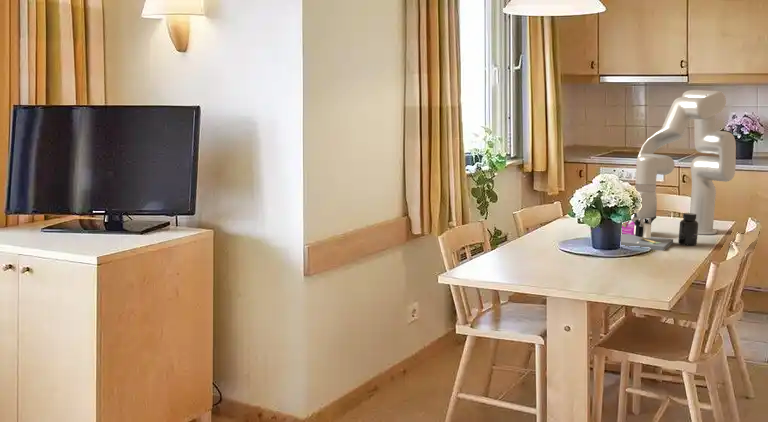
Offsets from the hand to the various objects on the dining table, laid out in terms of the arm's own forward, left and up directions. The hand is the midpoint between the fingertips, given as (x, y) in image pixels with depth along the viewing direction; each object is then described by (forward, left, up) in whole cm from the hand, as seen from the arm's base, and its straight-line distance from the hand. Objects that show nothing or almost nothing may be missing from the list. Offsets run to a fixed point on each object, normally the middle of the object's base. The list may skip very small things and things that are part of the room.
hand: (642, 235), depth 343 cm
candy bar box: (-17, -9, -3) cm, 20 cm away
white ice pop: (+2, +2, -1) cm, 3 cm away
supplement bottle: (-9, +15, -3) cm, 18 cm away
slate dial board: (0, 0, -3) cm, 3 cm away
